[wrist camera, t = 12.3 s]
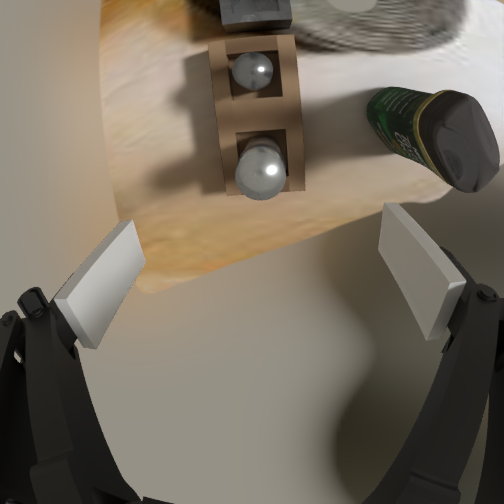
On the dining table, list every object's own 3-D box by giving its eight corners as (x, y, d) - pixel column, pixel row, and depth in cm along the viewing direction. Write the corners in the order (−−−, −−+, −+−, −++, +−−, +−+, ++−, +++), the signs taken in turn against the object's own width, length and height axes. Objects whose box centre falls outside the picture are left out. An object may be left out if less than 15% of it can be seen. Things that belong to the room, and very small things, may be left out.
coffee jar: (354, 110, 32) (425, 126, 16) (392, 78, 29) (478, 77, 13) (395, 162, 35) (470, 214, 19) (429, 131, 32) (515, 166, 16)
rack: (213, 48, 28) (207, 42, 25) (291, 41, 28) (293, 34, 24) (230, 186, 39) (226, 196, 35) (301, 181, 38) (305, 190, 34)
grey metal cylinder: (243, 134, 34) (230, 153, 23) (279, 131, 33) (285, 148, 22) (246, 168, 36) (236, 203, 25) (282, 165, 36) (288, 200, 25)
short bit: (238, 64, 29) (230, 54, 22) (270, 61, 28) (271, 50, 22) (241, 92, 31) (234, 90, 24) (273, 90, 30) (274, 86, 24)
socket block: (222, -14, 23) (216, -26, 19) (282, -19, 22) (284, -31, 19) (227, 33, 27) (222, 25, 23) (289, 28, 27) (292, 19, 23)
